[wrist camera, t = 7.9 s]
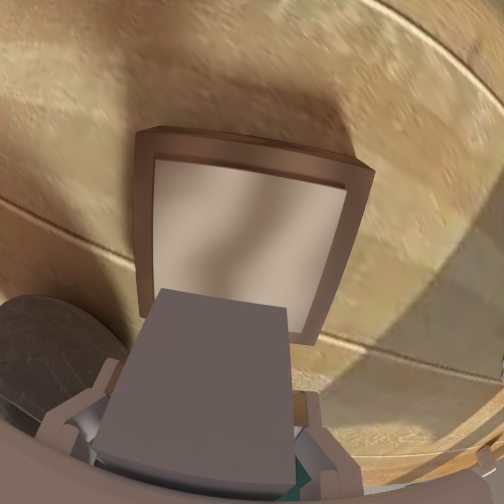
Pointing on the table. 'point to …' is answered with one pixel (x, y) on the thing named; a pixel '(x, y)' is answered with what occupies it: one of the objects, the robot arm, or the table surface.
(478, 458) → the small box
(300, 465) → the beverage bottle
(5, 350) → the bowl
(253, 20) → the table surface
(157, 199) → the base
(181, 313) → the block
